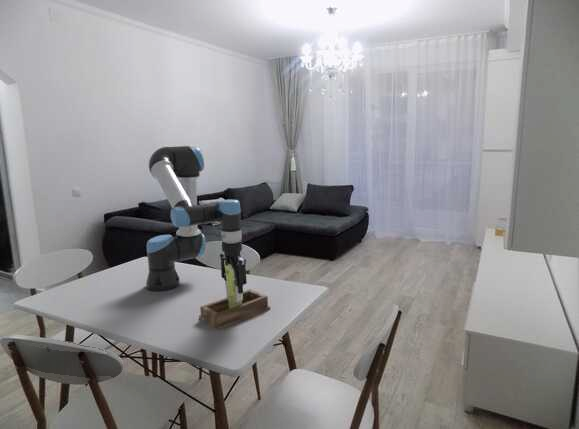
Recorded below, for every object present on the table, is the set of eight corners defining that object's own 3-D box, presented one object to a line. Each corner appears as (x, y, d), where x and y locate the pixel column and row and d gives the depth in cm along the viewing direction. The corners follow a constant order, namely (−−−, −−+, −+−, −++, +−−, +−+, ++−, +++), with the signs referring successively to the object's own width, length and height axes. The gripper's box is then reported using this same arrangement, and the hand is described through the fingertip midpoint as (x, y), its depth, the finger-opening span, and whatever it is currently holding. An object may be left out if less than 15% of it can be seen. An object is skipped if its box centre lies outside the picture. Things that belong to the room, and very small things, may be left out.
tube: (228, 312, 150) (225, 263, 146) (226, 307, 155) (223, 259, 151) (243, 310, 152) (240, 262, 148) (240, 305, 156) (238, 258, 153)
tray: (199, 318, 150) (198, 305, 149) (248, 299, 167) (247, 288, 166) (220, 330, 141) (219, 317, 140) (270, 309, 157) (269, 297, 156)
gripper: (209, 238, 152) (213, 294, 157) (238, 247, 139) (241, 308, 143) (225, 235, 157) (228, 289, 162) (255, 243, 144) (257, 302, 149)
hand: (234, 298), depth 153 cm, fingers closed on tube, 6 cm apart
